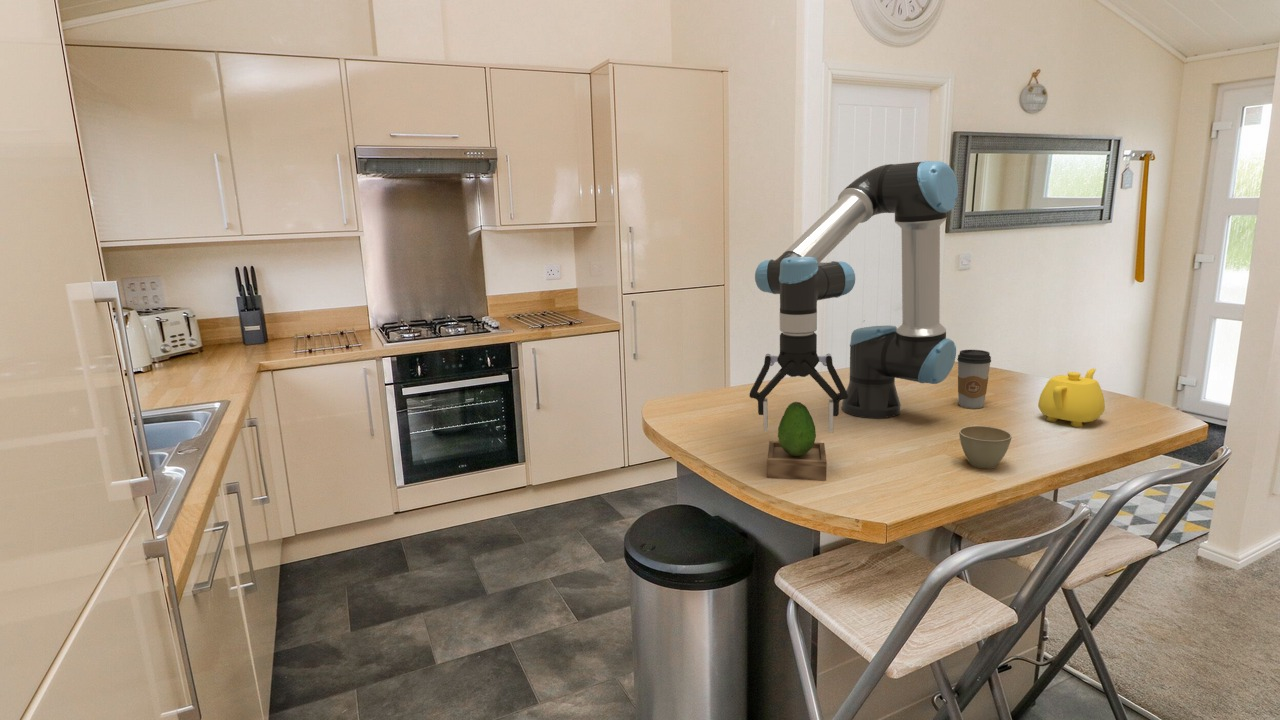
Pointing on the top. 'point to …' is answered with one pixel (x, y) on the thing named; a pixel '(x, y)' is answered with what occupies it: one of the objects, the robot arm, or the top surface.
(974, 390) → the coffee cup
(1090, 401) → the teapot
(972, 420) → the top surface
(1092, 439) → the top surface
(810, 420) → the avocado
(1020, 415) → the top surface
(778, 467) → the base
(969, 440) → the grey bowl
